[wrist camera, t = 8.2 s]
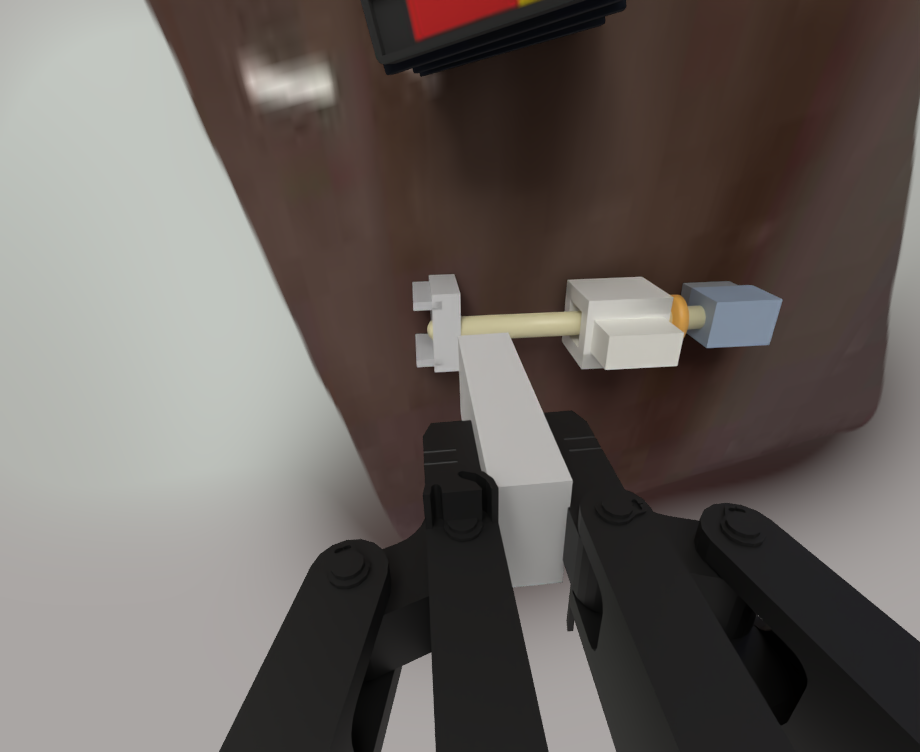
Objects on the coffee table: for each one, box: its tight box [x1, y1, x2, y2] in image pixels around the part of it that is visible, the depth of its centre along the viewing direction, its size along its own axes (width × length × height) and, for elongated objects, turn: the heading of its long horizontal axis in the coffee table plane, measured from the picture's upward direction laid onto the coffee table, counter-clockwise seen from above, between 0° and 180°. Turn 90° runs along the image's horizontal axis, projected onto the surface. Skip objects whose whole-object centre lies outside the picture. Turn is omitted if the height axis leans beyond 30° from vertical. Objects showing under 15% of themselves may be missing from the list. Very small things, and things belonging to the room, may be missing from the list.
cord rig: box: [412, 274, 783, 372], centre depth 38 cm, size 6×27×6 cm, turn 91°
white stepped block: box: [562, 277, 684, 370], centre depth 36 cm, size 5×6×8 cm
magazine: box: [361, 0, 626, 77], centre depth 27 cm, size 4×13×15 cm, turn 104°
